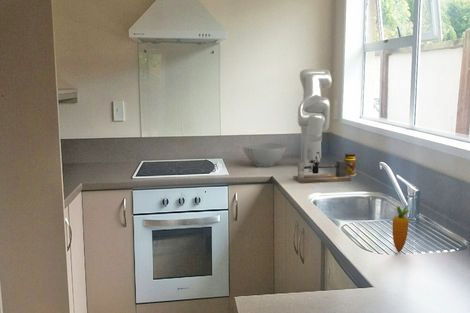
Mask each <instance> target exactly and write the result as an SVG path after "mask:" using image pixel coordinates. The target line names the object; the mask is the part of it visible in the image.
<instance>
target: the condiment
mask: <svg viewBox="0 0 470 313" xmlns="http://www.w3.org/2000/svg"><path fill="white" fill-rule="evenodd" d="M355 156H356V155H355V153H351V152H350V153H348V152H347V153H345V157H344V160H343V161H345V162H347V163H346V176H348V177H355V176H356V175H357V173H356V157H355Z"/></svg>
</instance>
